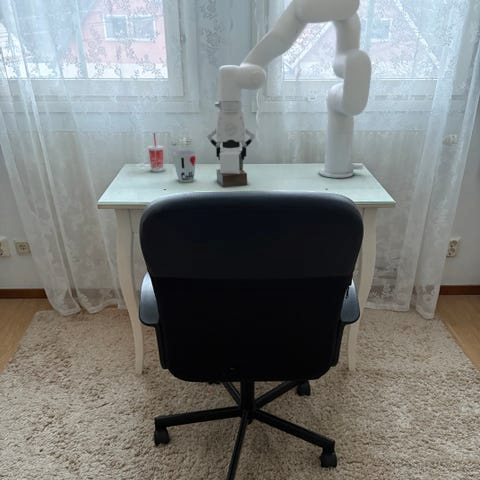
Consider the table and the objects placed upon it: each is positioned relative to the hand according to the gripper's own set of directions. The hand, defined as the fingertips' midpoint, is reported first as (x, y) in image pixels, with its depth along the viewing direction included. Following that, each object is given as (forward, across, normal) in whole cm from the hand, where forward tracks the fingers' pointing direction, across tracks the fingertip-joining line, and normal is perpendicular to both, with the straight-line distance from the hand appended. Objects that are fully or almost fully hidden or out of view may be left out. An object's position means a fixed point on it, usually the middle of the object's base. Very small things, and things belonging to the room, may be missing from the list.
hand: (231, 158), depth 183 cm
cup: (+9, -17, +4) cm, 20 cm away
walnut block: (+8, 0, 0) cm, 8 cm away
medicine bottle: (+5, 0, 0) cm, 5 cm away
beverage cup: (+8, -29, +19) cm, 36 cm away
